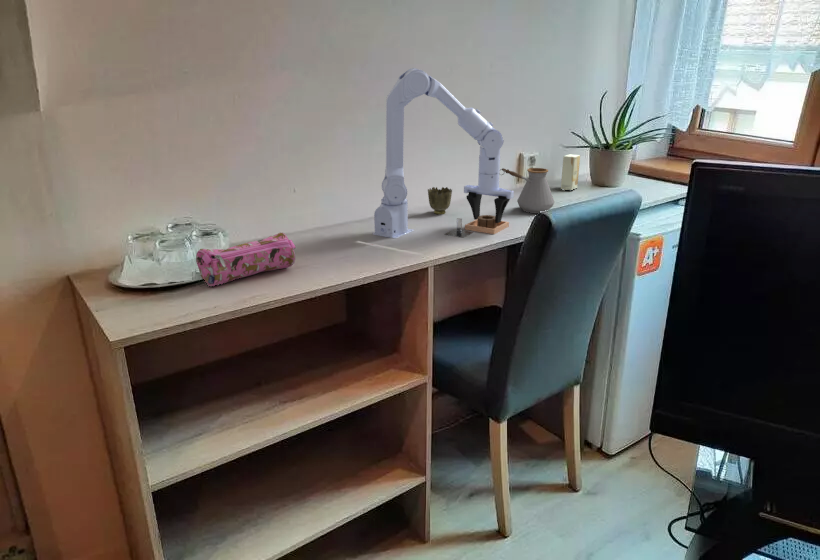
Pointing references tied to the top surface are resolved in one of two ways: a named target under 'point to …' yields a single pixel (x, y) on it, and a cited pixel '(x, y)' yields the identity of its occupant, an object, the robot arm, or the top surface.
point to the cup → (439, 199)
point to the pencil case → (245, 259)
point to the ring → (487, 221)
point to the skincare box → (570, 172)
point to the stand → (459, 230)
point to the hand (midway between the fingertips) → (487, 220)
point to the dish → (474, 227)
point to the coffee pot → (534, 191)
